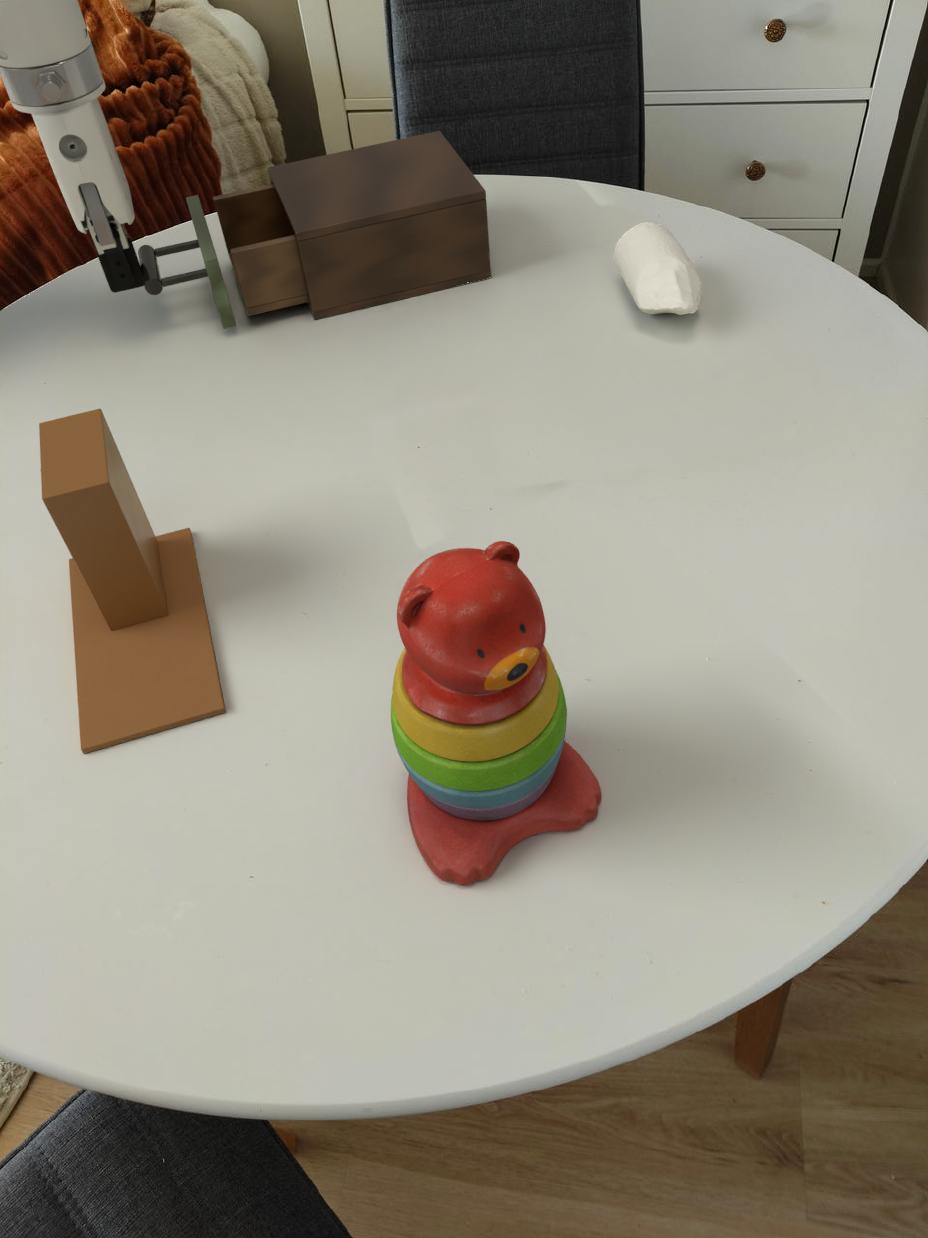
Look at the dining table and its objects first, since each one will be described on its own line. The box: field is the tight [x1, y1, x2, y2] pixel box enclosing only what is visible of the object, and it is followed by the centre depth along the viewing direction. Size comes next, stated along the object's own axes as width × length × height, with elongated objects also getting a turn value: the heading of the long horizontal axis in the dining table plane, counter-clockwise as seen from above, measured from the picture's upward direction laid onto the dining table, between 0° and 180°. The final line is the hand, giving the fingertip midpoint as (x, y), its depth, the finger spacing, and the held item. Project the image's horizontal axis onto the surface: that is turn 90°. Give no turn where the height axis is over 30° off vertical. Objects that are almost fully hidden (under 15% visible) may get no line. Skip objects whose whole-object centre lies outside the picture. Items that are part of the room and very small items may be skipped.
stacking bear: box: [390, 540, 603, 886], centre depth 51 cm, size 11×10×18 cm
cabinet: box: [267, 130, 492, 321], centre depth 96 cm, size 18×15×9 cm
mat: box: [68, 527, 227, 755], centre depth 68 cm, size 18×9×1 cm, turn 18°
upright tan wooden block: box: [38, 408, 168, 631], centre depth 66 cm, size 8×4×12 cm, turn 18°
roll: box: [613, 221, 703, 316], centre depth 88 cm, size 6×12×6 cm, turn 8°
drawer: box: [137, 183, 310, 330], centre depth 94 cm, size 22×13×7 cm, turn 108°
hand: (128, 284), depth 93 cm, fingers closed
